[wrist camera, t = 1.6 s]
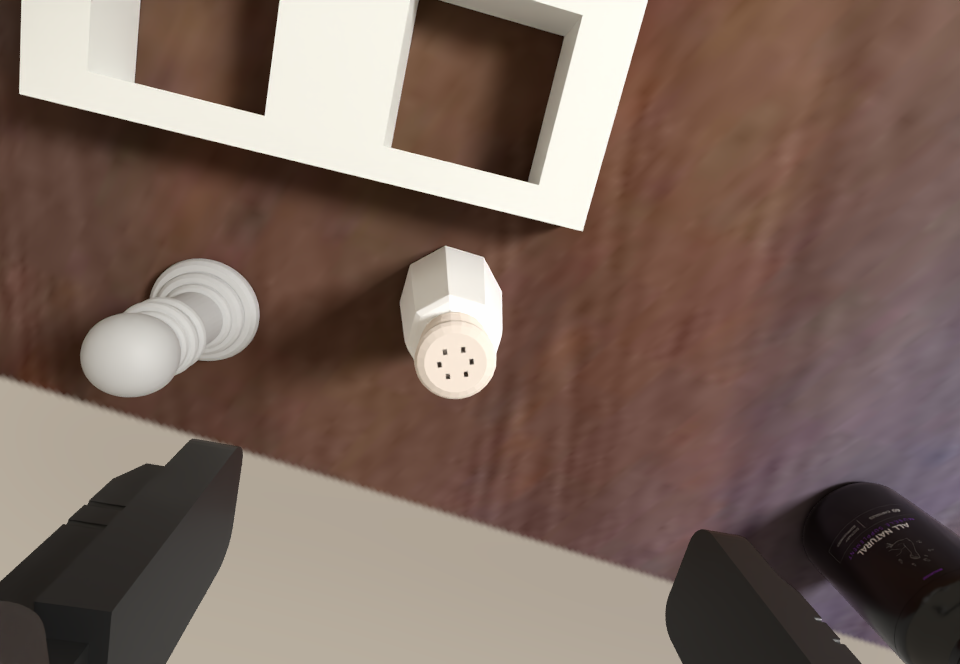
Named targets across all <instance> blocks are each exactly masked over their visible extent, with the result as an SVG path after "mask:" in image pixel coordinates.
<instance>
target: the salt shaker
mask: <svg viewBox="0 0 960 664" xmlns="http://www.w3.org/2000/svg"><path fill="white" fill-rule="evenodd" d="M400 309H401V317H402V325H403V332H404V340H405V344H406V347H407V349H408V350H409V352H410V354H411V356H412V357H413V359H414V366H415V369H416V373H417V376H418V377H419V379H420V381H421V382H422V384H423V385H424V386H425V387H426V388H427V389H428V390H429V391H431V392H432V393H434V394H436V395H438V396H440V397H444V398H448V399H461V398H466V397H470V396H472V395H474V394H476V393H478V392H479V391H480V390H482V389H483V388H484V387H485V386H486V385H487V384H488V382H489V381H490V379H491V378H492V376H493V373H494V370H495V367H496V352H497V349H498V346H499V343H500V340H501V336H502V291H501V289H500V287H499V285H498V283H497V282H496V280H495V278H494V276H493V274H492V272H491V270H490V268H489V266H488V265H487V263H486V261H485V259H484V257H481V256H478V255H475V254H471V253H468V252H465V251H462V250H458V249H455V248H452V247H448V246H444V247H442V248H440V249H438V250H436V251H434V252H433V253H431V254H429V255H427V256H425V257H423V258H421V259H420V260H418V261H416V262H414V263H412V264H410V267H409V270H408V274H407V277H406V281H405V285H404V288H403V292H402V296H401V299H400Z"/></svg>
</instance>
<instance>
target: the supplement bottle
mask: <svg viewBox="0 0 960 664" xmlns="http://www.w3.org/2000/svg"><path fill="white" fill-rule="evenodd" d="M803 545H804V549H805V552H806V554H807V556H808V558H809V559H810V561H811V562H812V563H813V565H814V566H815V567H816V568H817V569H818V570H819V571H820V572H821V574H822V575H823V576H824V577H825V578H826V579H827V580H828V581H829V582H830V583H831V584H832V586H833V587H834V588H835V589H836V590H837V591H838V592H839V593H840V594H841V595H842V596H843V597H844V598H845V600H846V601H847V602H848V603H849V604H850V605H851V606H852V607H853V608H854V609H855V610H856V611H857V612H858V613H859V615H860V616H861V617H862V618H863V619H864V620H865V621H866V622H867V623H868V624H869V625H870V626H871V627H872V629H873V630H874V631H875V632H876V633H877V634H878V635H879V636H880V637H881V638H882V639H883V640H884V641H885V642H886V644H887V645H888V646H889V647H890V648H891V649H892V650H893V651H894V652H895V653H896V654H897V655H898V656H899V658H900V659H901V660H902V661H903V662H904V663H905V664H960V537H959V536H958V535H957V534H955V533H954V532H952V531H951V530H950V529H948V528H947V527H945V526H944V525H943V524H941V523H940V522H938V521H937V520H936V519H934V518H933V517H931V516H930V515H929V514H927V513H926V512H924V511H923V510H922V509H920V508H919V507H917V506H916V505H914V504H913V503H912V502H910V501H909V500H907V499H906V498H904V497H903V496H901V495H900V494H899V493H897V492H896V491H894V490H892V489H890V488H888V487H886V486H883V485H880V484H875V483H854V484H849V485H846V486H843V487H840V488H838V489H836V490H834V491H832V492H830V493H829V494H827V495H826V496H825V497H823V498H822V499H821V500H820V501H819V502H818V503H817V504H816V505H815V506H814V508H813V509H812V510H811V512H810V513H809V515H808V517H807V519H806V522H805V525H804V529H803Z"/></svg>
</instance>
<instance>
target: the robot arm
mask: <svg viewBox="0 0 960 664" xmlns="http://www.w3.org/2000/svg"><path fill="white" fill-rule="evenodd" d="M242 458H243V452H242V448H241V447H238V446H233V445H227V444H221V443H216V442H210V441H204V440H199V439H191V440H190V441H189V442H188V443H187V444H186V445H185V446H184V447H183V448H182V449H181V450H180V451H179V452H178V453H177V454H176V455H175V456H174V457H173V458H172V459H171V460H170V461H169V462H168V463H167V464H166V465H165V466H159V465H152V464H145V465H142V466H140V467H138V468H136V469H134V470H131V471H129V472H127V473H125V474H123V475H120V476H118V477H116V478H114V479H112V480H111V481H110V482H109V483H108V484H107V485H106V486H105V487H104V488H102V489H101V490H100V491H99V492H98V493H97V494H96V495H95V496H94V497H93V498H91V500H90V501H89V503H88V505H84V506H83V507H82V508H80V509H79V510H78V511H77V512H76V513H75V514H74V515H73V516H72V517H71V518H70V519H69V520H68V523H67V524H66V525H65V524H63V525H62V526H61V527H60V528H59V529H58V530H57V531H55V532H54V533H53V534H52V535H51V536H50V537H49V538H48V539H46V540H45V541H44V542H43V543H42V544H41V545H40V546H39V547H38V548H37V549H36V550H34V551H33V552H32V553H31V554H30V555H29V556H28V557H27V558H26V559H25V560H23V561H22V562H21V563H20V564H19V565H18V566H17V567H16V568H15V569H14V570H13V571H12V572H10V573H9V574H8V575H7V576H6V577H5V578H4V579H3V580H1V581H0V664H166V662H167V661H168V659H169V657H170V655H171V653H172V652H173V650H174V648H175V646H176V645H177V643H178V641H179V639H180V638H181V636H182V634H183V632H184V631H185V629H186V627H187V625H188V623H189V622H190V620H191V618H192V616H193V614H194V613H195V611H196V609H197V608H198V606H199V604H200V602H201V601H202V599H203V597H204V595H205V594H206V592H207V590H208V588H209V587H210V585H211V583H212V581H213V579H214V577H215V576H216V574H217V572H218V570H219V569H220V567H221V564H222V562H223V560H224V557H225V554H226V551H227V548H228V545H229V542H230V538H231V533H232V528H233V522H234V515H235V507H236V501H237V494H238V487H239V480H240V473H241V466H242ZM666 626H667V631H668V634H669V637H670V639H671V641H672V643H673V645H674V647H675V649H676V651H677V653H678V655H679V657H680V659H681V661H682V663H683V664H861V663H860V661H859V660H858V659H857V658H856V657H855V656H854V655H853V653H852V652H851V651H850V650H849V649H848V648H847V647H846V645H844V644H840V638H839V637H838V636H837V635H836V634H835V633H834V632H833V630H832V629H831V628H830V627H829V626H828V625H827V624H826V623H824V622H821V617H820V616H819V614H818V613H817V612H816V611H815V610H814V609H813V608H812V606H811V605H810V604H809V603H808V602H807V601H806V600H805V598H804V597H803V596H802V595H801V594H800V593H799V592H798V591H797V590H795V589H794V588H793V587H792V586H790V585H789V584H788V583H787V582H785V581H784V580H783V579H782V578H780V577H779V576H778V575H777V574H776V572H775V571H774V570H773V569H772V568H771V567H770V565H769V564H768V563H767V562H766V561H765V560H764V558H763V557H762V556H761V555H760V554H759V553H758V551H757V550H756V549H755V548H754V547H753V546H752V544H751V543H750V542H749V541H748V540H747V539H746V538H744V537H742V536H738V535H732V534H727V533H721V532H715V531H710V530H702V529H701V530H698V531H697V532H696V533H695V534H694V535H693V536H692V538H691V540H690V542H689V545H688V547H687V550H686V553H685V555H684V558H683V560H682V563H681V566H680V568H679V571H678V573H677V576H676V578H675V581H674V584H673V586H672V589H671V592H670V594H669V597H668V600H667V605H666Z"/></svg>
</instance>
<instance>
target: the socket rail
mask: <svg viewBox="0 0 960 664" xmlns="http://www.w3.org/2000/svg"><path fill="white" fill-rule="evenodd" d="M440 1H444V2H447V3H451V4H454V5H458V6H461V7H464V8H468V9H471V10H475V11H478V12H482V13H485V14H489V15H492V16H495V17H499V18H502V19H506V20H509V21H513V22H516V23H520V24H523V25H527V26H530V27H533V28H537V29H540V30H544V31H547V32H551V33H554V34H558V35H561V36H564V40H563V44H562V48H561V52H560V56H559V60H558V64H557V68H556V72H555V76H554V80H553V84H552V88H551V92H550V96H549V100H548V103H547V107H546V111H545V115H544V119H543V123H542V127H541V131H540V135H539V139H538V143H537V147H536V151H535V155H534V159H533V163H532V167H531V171H530V175H529V179H528V182H525V181H521V180H517V179H513V178H509V177H505V176H501V175H497V174H493V173H489V172H485V171H481V170H477V169H473V168H469V167H465V166H461V165H457V164H453V163H449V162H445V161H441V160H437V159H433V158H429V157H425V156H422V155H418V154H414V153H410V152H406V151H402V150H398V149H394V148H391V145H392V140H393V134H394V129H395V124H396V118H397V113H398V108H399V102H400V97H401V92H402V86H403V81H404V76H405V71H406V65H407V60H408V55H409V49H410V44H411V39H412V33H413V28H414V23H415V17H416V12H417V7H418V2H419V0H280V2H279V10H278V18H277V25H276V33H275V41H274V48H273V56H272V63H271V71H270V79H269V86H268V94H267V102H266V109H265V116H263V115H259V114H255V113H251V112H247V111H243V110H239V109H235V108H231V107H227V106H223V105H219V104H215V103H211V102H207V101H203V100H200V99H196V98H192V97H188V96H184V95H180V94H176V93H172V92H168V91H164V90H160V89H156V88H152V87H148V86H144V85H140V84H136V83H134V82H135V68H136V55H137V41H138V27H139V14H140V0H22V2H21V43H20V84H19V94H22V95H26V96H30V97H34V98H38V99H42V100H46V101H50V102H54V103H59V104H63V105H67V106H71V107H75V108H79V109H83V110H87V111H91V112H95V113H100V114H104V115H108V116H112V117H116V118H120V119H124V120H128V121H132V122H137V123H141V124H145V125H149V126H153V127H157V128H161V129H165V130H169V131H173V132H178V133H182V134H186V135H190V136H194V137H198V138H202V139H206V140H210V141H214V142H219V143H223V144H227V145H231V146H235V147H239V148H243V149H247V150H251V151H256V152H260V153H264V154H268V155H272V156H276V157H280V158H284V159H288V160H292V161H297V162H301V163H305V164H309V165H313V166H317V167H321V168H325V169H329V170H334V171H338V172H342V173H346V174H350V175H354V176H358V177H362V178H366V179H370V180H375V181H379V182H383V183H387V184H391V185H395V186H399V187H403V188H407V189H411V190H416V191H420V192H424V193H428V194H432V195H436V196H440V197H444V198H448V199H453V200H457V201H461V202H465V203H469V204H473V205H477V206H481V207H485V208H489V209H494V210H498V211H502V212H506V213H510V214H514V215H518V216H522V217H526V218H531V219H535V220H539V221H543V222H547V223H551V224H555V225H559V226H563V227H567V228H572V229H576V230H580V231H583V228H584V224H585V221H586V217H587V214H588V210H589V207H590V203H591V199H592V196H593V192H594V189H595V185H596V182H597V178H598V175H599V171H600V168H601V164H602V161H603V157H604V154H605V150H606V146H607V143H608V139H609V136H610V132H611V129H612V125H613V122H614V118H615V115H616V111H617V108H618V104H619V101H620V97H621V93H622V90H623V86H624V83H625V79H626V76H627V72H628V69H629V65H630V62H631V58H632V55H633V51H634V48H635V44H636V40H637V37H638V33H639V30H640V26H641V23H642V19H643V16H644V12H645V9H646V5H647V2H648V0H440Z"/></svg>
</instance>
